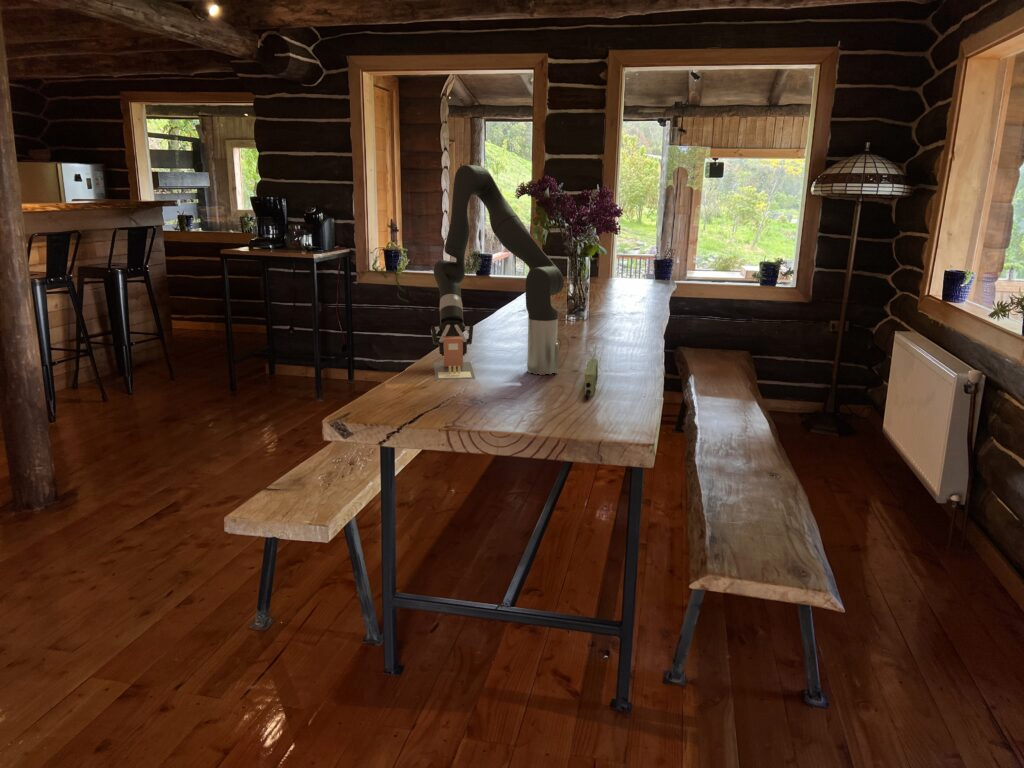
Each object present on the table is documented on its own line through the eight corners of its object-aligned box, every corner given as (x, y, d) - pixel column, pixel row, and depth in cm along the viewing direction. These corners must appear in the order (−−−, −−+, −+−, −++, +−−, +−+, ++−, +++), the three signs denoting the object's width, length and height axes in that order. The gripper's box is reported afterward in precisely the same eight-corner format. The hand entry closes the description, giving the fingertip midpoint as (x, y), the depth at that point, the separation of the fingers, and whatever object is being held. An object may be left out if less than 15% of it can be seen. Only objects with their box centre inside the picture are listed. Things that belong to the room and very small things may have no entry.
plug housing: (462, 363, 236) (461, 335, 233) (462, 366, 231) (462, 338, 229) (443, 363, 235) (443, 336, 233) (444, 366, 230) (443, 339, 228)
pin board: (470, 364, 240) (470, 353, 239) (475, 381, 219) (475, 369, 218) (433, 365, 239) (433, 353, 238) (435, 382, 217) (435, 370, 216)
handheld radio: (598, 379, 224) (593, 402, 201) (588, 379, 225) (581, 401, 201) (599, 358, 223) (593, 378, 199) (588, 358, 223) (581, 378, 200)
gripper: (429, 304, 235) (430, 348, 226) (473, 304, 236) (476, 347, 228) (429, 318, 241) (430, 361, 233) (472, 317, 243) (475, 360, 235)
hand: (453, 354), depth 231 cm, fingers closed on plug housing, 6 cm apart
